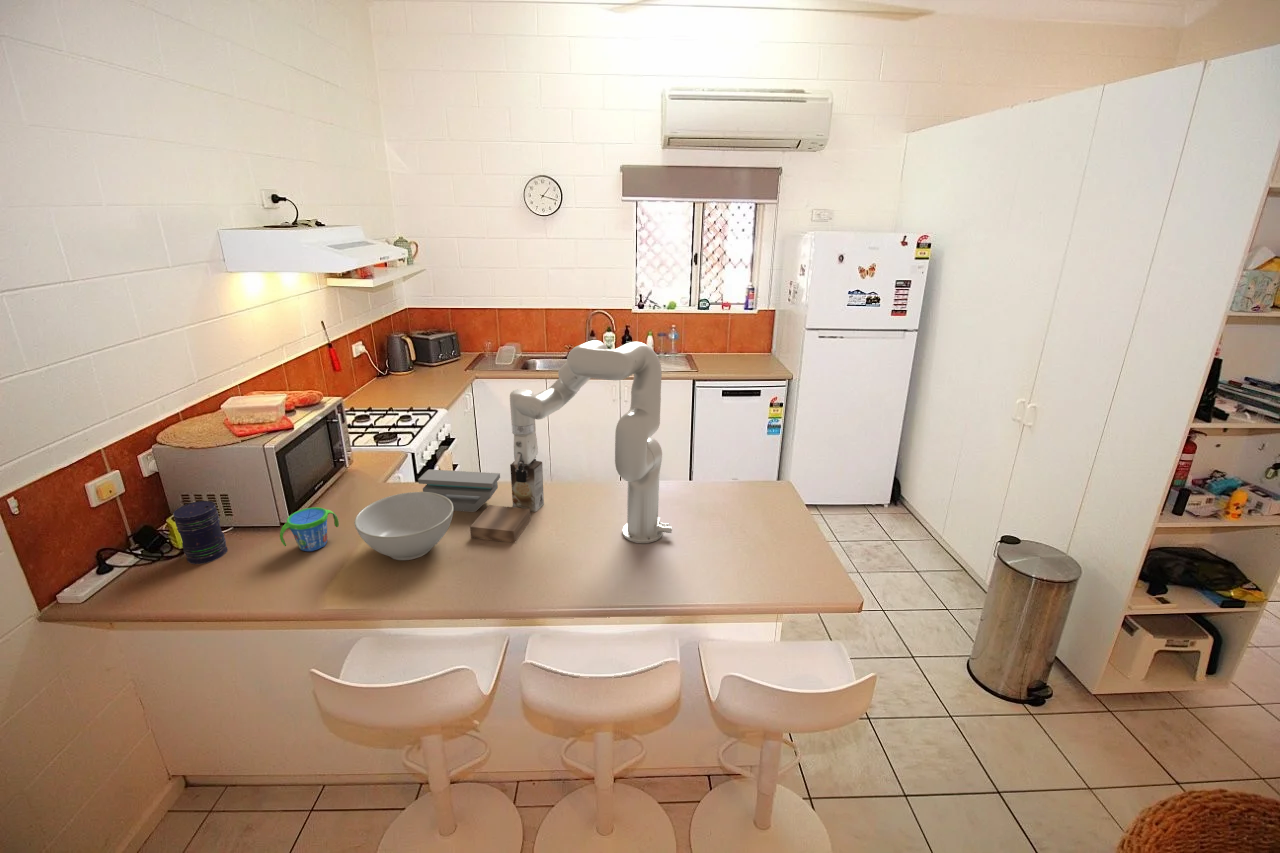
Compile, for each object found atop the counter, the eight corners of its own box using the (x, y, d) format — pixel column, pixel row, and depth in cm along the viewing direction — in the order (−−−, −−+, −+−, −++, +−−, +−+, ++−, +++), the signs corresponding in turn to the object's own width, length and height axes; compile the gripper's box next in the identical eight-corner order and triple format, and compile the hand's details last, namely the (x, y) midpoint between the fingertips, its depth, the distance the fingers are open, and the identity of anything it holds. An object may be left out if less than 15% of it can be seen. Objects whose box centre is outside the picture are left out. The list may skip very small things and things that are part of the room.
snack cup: (288, 563, 168) (281, 531, 164) (279, 547, 175) (272, 517, 171) (346, 543, 178) (341, 513, 174) (336, 529, 185) (330, 500, 181)
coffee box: (511, 507, 199) (508, 464, 194) (521, 499, 205) (518, 457, 199) (536, 512, 197) (533, 468, 191) (545, 503, 202) (542, 460, 197)
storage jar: (183, 567, 165) (169, 520, 160) (189, 550, 173) (175, 505, 168) (226, 558, 169) (213, 512, 164) (230, 542, 178) (217, 497, 172)
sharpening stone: (502, 502, 203) (499, 473, 199) (494, 513, 196) (492, 483, 192) (432, 497, 205) (428, 469, 202) (422, 508, 198) (418, 479, 194)
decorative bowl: (339, 563, 168) (332, 526, 164) (405, 519, 191) (400, 485, 187) (416, 584, 159) (411, 545, 155) (475, 535, 183) (472, 500, 179)
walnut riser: (530, 519, 192) (530, 509, 190) (514, 542, 179) (513, 531, 178) (489, 515, 194) (488, 504, 193) (471, 538, 181) (470, 526, 180)
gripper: (525, 438, 182) (528, 488, 188) (543, 419, 198) (545, 465, 204) (502, 436, 183) (506, 486, 189) (522, 417, 199) (525, 464, 205)
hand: (526, 475), depth 197 cm, fingers open, 9 cm apart
